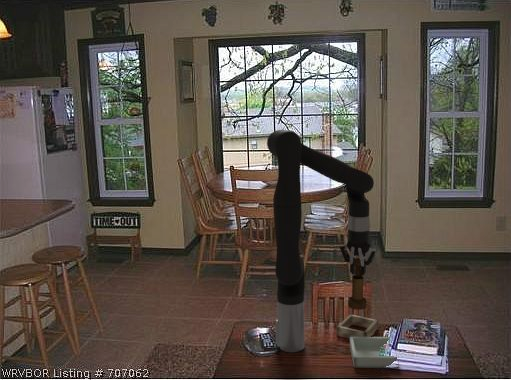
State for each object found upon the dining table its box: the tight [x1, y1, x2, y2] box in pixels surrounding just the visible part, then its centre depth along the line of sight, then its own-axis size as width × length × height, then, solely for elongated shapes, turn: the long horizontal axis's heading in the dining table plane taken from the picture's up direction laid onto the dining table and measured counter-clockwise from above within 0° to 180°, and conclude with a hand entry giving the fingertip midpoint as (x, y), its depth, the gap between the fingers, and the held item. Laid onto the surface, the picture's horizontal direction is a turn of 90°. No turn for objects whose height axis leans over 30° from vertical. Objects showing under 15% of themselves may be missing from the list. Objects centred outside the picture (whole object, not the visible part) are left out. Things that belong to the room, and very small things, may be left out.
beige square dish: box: [336, 314, 379, 340], centre depth 191 cm, size 11×12×4 cm
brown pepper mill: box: [347, 257, 368, 311], centre depth 188 cm, size 7×6×18 cm
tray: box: [349, 336, 397, 369], centre depth 174 cm, size 14×14×4 cm
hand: (357, 274), depth 188 cm, fingers closed on brown pepper mill, 2 cm apart
